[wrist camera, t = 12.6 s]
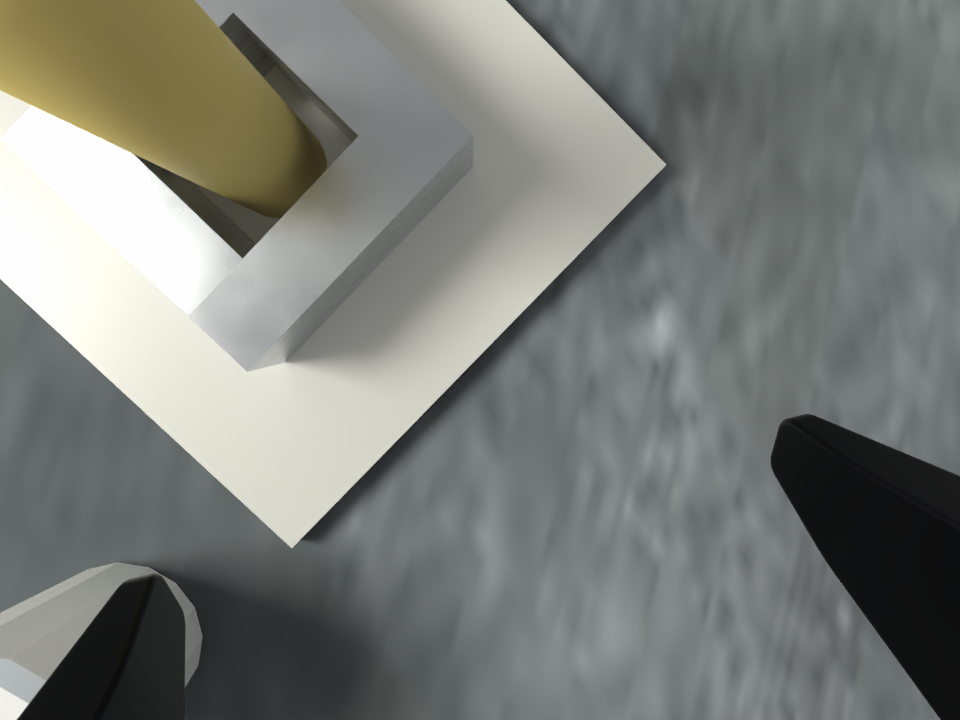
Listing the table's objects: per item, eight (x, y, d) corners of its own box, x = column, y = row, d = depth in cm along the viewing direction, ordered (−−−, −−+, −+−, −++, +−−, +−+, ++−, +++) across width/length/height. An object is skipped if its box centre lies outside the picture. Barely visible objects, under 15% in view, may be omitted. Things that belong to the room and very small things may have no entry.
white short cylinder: (168, 514, 22) (23, 608, 15) (252, 684, 22) (150, 854, 15) (-7, 592, 22) (-233, 722, 15) (80, 759, 22) (-99, 961, 15)
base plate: (658, 170, 21) (666, 164, 20) (298, 539, 22) (291, 548, 21) (272, -225, 20) (264, -248, 19) (-93, 177, 21) (-115, 172, 20)
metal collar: (473, 166, 20) (473, 135, 17) (285, 362, 21) (247, 371, 17) (271, -35, 20) (228, -111, 16) (82, 170, 20) (0, 139, 17)
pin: (340, 137, 20) (94, -190, 7) (309, 231, 20) (15, 81, 7) (246, 104, 20) (-178, -291, 7) (216, 198, 20) (-250, -13, 7)
